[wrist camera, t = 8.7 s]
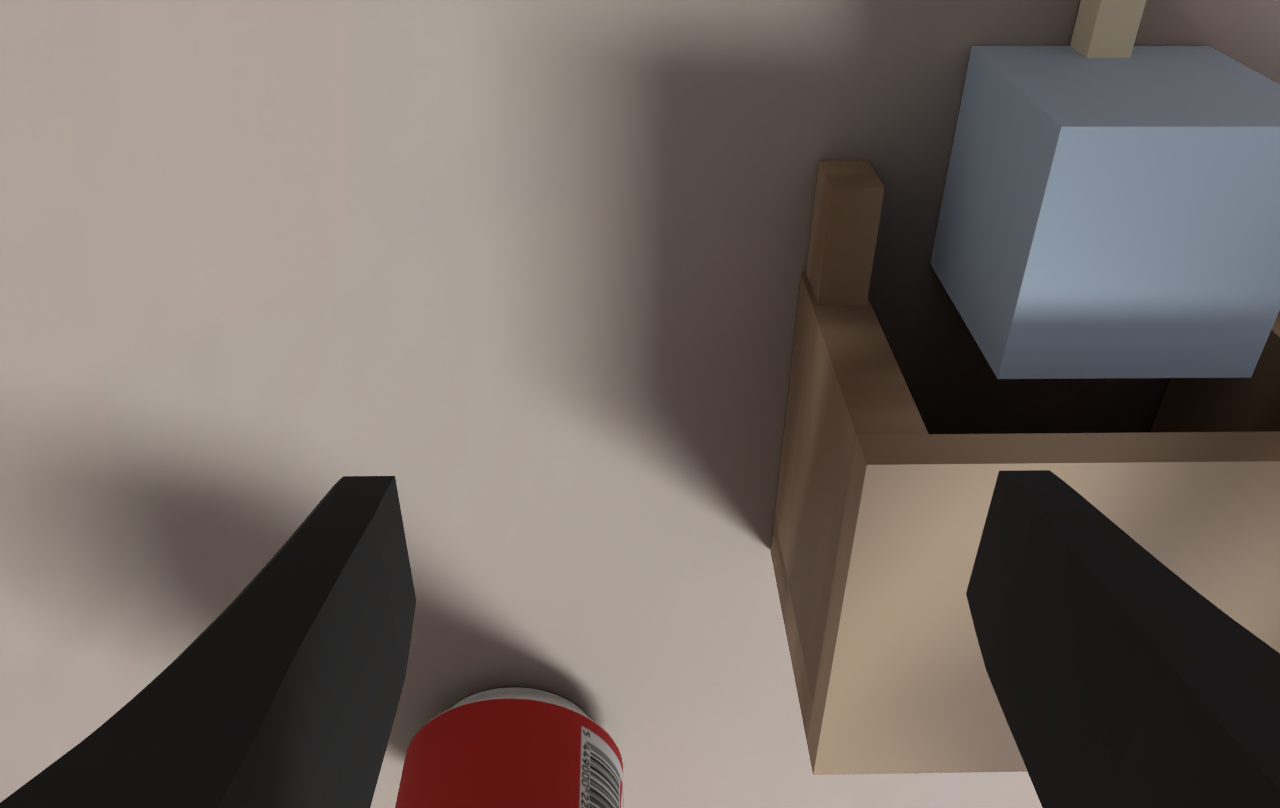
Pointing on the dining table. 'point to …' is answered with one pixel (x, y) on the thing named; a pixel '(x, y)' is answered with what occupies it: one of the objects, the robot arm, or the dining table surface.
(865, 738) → the open wooden box
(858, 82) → the dining table surface
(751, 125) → the dining table surface
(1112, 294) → the tethered block
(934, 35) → the dining table surface
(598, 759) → the beverage can
